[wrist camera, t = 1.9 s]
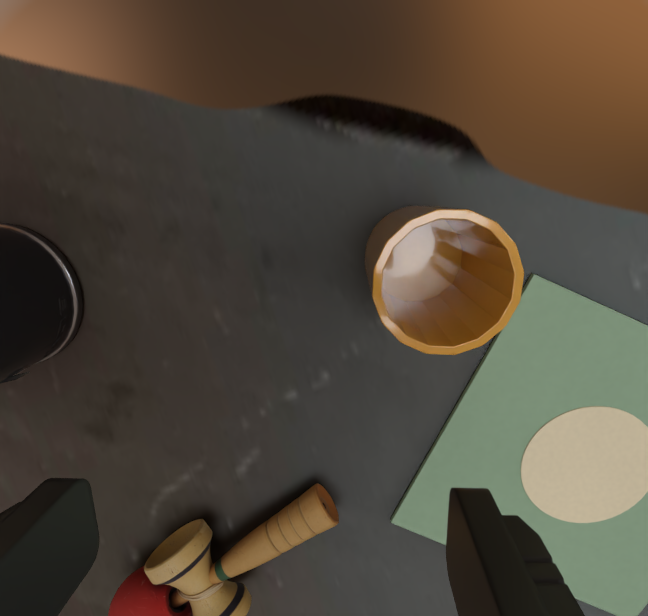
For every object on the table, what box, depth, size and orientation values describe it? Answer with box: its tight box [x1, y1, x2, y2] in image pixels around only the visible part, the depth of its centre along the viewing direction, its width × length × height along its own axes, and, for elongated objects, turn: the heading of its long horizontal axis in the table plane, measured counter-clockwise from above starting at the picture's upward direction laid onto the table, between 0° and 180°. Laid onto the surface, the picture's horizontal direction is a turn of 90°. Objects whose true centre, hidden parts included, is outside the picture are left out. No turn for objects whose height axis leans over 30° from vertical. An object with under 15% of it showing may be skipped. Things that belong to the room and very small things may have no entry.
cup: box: [365, 205, 524, 355], centre depth 22 cm, size 6×6×9 cm
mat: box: [390, 274, 648, 616], centre depth 29 cm, size 20×20×1 cm
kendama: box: [108, 483, 339, 616], centre depth 30 cm, size 8×6×18 cm
